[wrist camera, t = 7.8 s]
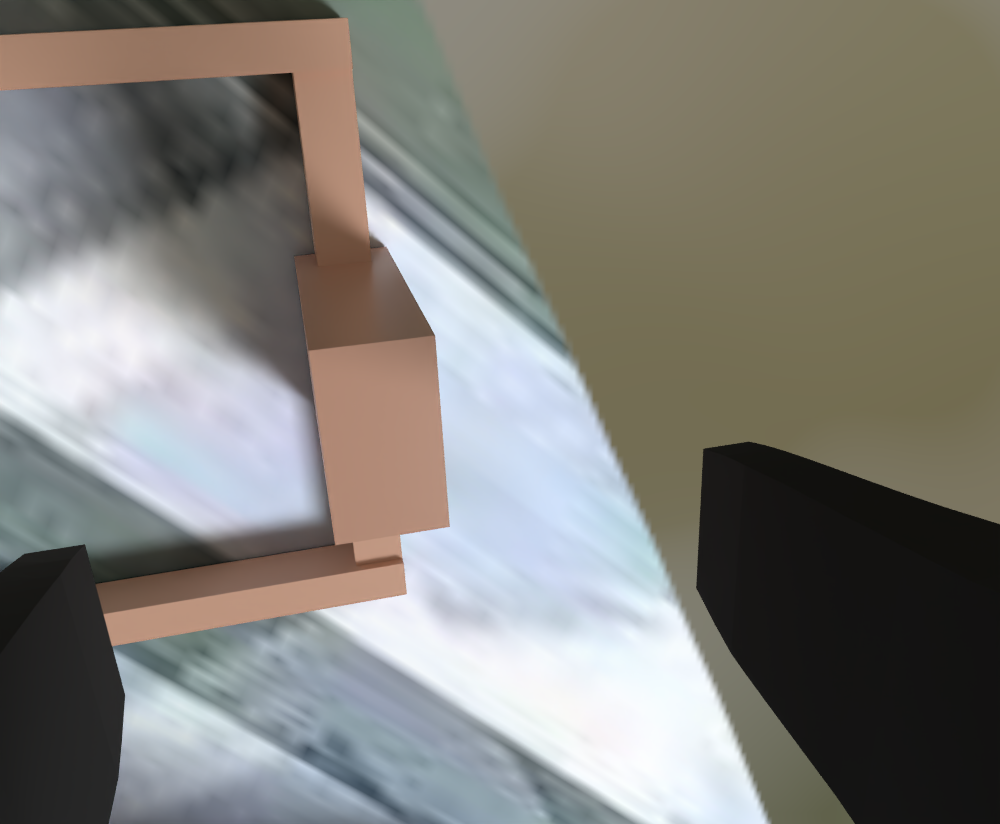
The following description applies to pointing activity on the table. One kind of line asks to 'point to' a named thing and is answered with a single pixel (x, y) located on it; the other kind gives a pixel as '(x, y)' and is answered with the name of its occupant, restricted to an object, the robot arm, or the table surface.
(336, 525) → the cup sled
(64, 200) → the table surface
